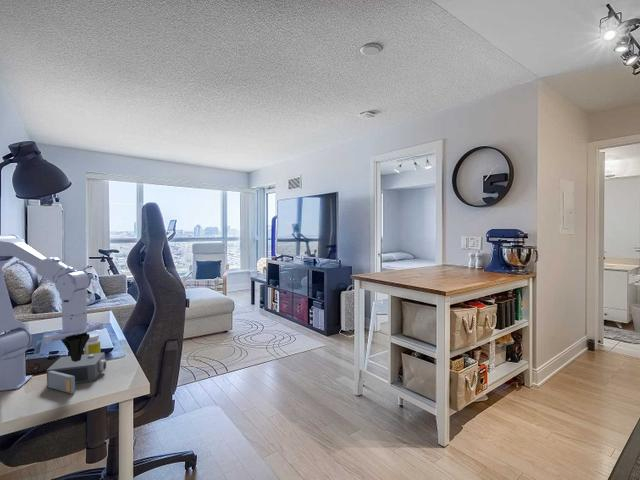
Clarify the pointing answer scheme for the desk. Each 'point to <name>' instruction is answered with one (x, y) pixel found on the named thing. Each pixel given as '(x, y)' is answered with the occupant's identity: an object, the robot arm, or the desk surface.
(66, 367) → the camera body
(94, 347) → the supplement bottle
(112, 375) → the desk surface
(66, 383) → the side door
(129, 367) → the desk surface
